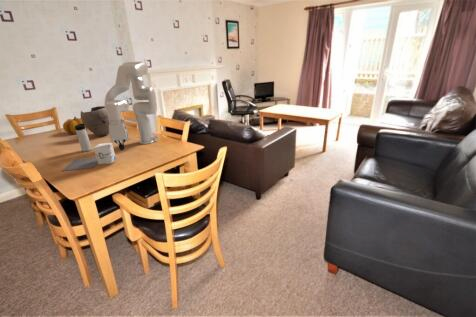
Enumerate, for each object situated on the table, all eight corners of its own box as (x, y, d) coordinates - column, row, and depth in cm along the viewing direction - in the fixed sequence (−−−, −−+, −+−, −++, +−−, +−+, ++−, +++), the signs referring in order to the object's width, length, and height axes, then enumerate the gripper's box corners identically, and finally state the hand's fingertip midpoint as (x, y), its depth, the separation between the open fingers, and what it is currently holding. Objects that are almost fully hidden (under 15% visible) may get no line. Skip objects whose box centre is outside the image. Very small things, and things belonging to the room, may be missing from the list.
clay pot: (122, 133, 219) (115, 106, 209) (96, 141, 200) (87, 111, 191) (107, 130, 231) (100, 104, 221) (81, 137, 213) (72, 109, 203)
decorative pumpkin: (76, 129, 240) (71, 114, 234) (96, 129, 236) (91, 114, 231) (59, 135, 221) (54, 119, 215) (81, 135, 218) (76, 119, 212)
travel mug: (94, 149, 182) (86, 123, 174) (86, 152, 176) (78, 126, 168) (88, 148, 184) (80, 123, 176) (80, 151, 178) (72, 125, 170)
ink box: (103, 159, 162) (99, 143, 158) (116, 158, 163) (112, 142, 158) (97, 164, 154) (92, 147, 150) (111, 163, 155) (106, 146, 150)
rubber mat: (102, 157, 166) (102, 156, 166) (93, 167, 150) (93, 167, 149) (74, 159, 163) (74, 159, 163) (61, 171, 147) (61, 170, 147)
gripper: (129, 120, 155) (135, 146, 162) (105, 121, 153) (112, 148, 160) (127, 122, 148) (133, 150, 155) (101, 124, 146) (108, 152, 153)
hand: (122, 149), depth 157 cm, fingers closed
